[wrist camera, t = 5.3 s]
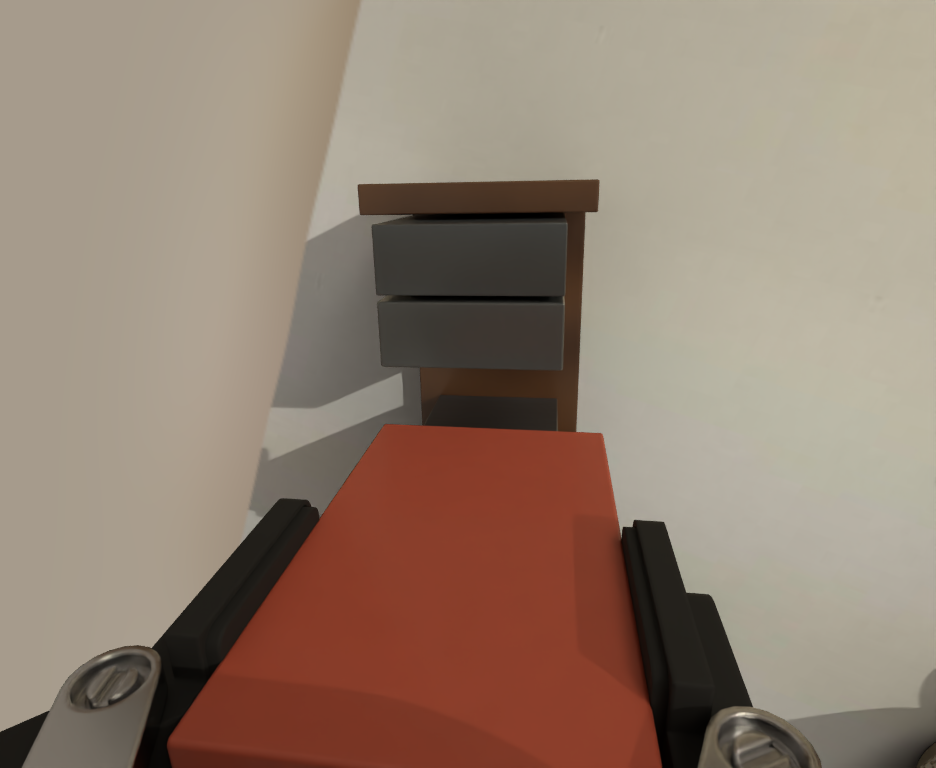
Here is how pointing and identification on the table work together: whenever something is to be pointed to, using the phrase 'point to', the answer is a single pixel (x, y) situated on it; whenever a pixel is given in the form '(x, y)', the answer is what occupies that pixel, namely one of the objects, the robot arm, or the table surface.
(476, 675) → the red rectangular block
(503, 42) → the table surface
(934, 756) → the planter
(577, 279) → the brown rack
